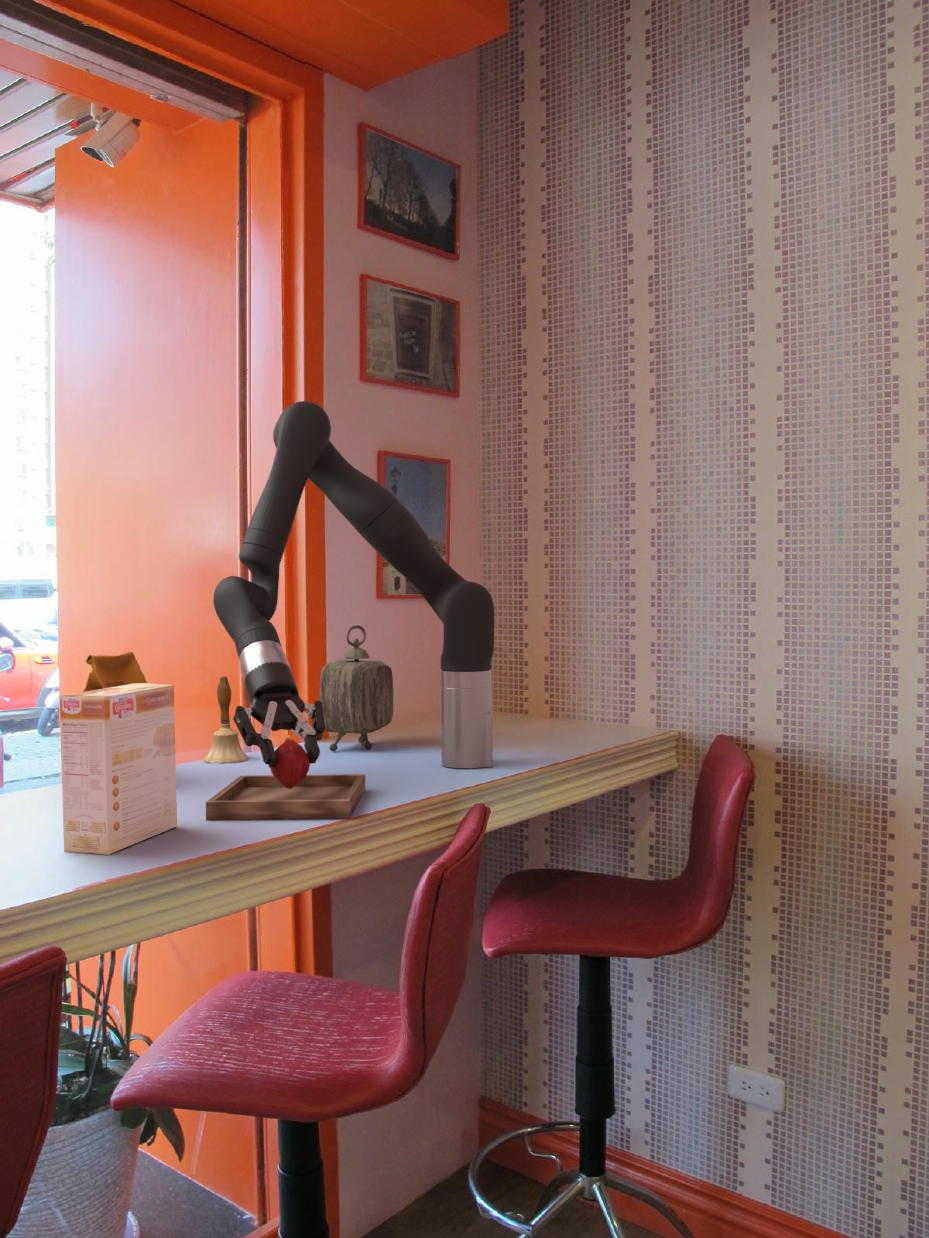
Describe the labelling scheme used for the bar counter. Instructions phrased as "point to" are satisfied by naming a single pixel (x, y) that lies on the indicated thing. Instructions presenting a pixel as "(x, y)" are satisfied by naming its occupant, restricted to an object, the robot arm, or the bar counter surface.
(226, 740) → the hand bell
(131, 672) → the coffee package
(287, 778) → the onion
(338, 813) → the walnut tray
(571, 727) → the bar counter surface
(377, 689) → the tabletop clock
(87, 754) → the coffeecake box
